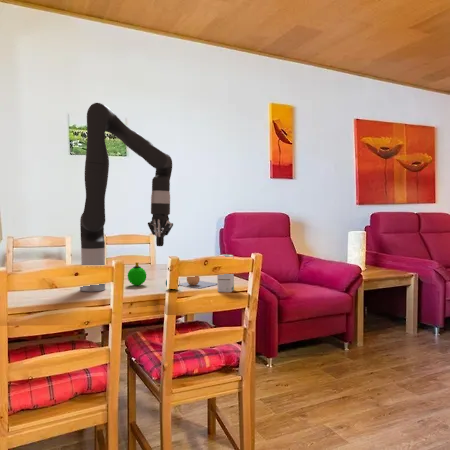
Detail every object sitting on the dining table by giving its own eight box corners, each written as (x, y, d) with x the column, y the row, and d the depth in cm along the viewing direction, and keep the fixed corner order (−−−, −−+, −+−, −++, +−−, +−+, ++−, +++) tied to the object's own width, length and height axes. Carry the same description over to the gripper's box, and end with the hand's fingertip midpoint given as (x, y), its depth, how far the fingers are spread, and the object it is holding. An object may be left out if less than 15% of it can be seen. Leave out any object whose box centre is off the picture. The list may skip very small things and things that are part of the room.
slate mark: (199, 288, 174) (199, 288, 174) (175, 285, 183) (175, 284, 183) (220, 284, 185) (220, 283, 185) (196, 280, 194) (196, 280, 194)
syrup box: (231, 292, 166) (231, 255, 165) (217, 291, 167) (216, 255, 167) (234, 289, 171) (234, 254, 171) (220, 289, 173) (220, 254, 172)
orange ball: (194, 267, 182) (199, 276, 186) (183, 274, 182) (188, 283, 185) (197, 275, 178) (203, 283, 181) (186, 281, 178) (192, 290, 181)
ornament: (149, 286, 181) (149, 262, 180) (131, 287, 176) (131, 264, 176) (142, 283, 187) (142, 261, 187) (125, 285, 183) (124, 262, 183)
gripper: (179, 203, 165) (178, 246, 166) (156, 203, 174) (155, 244, 174) (165, 202, 160) (164, 247, 160) (142, 202, 168) (141, 245, 168)
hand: (159, 246), depth 167 cm, fingers closed
